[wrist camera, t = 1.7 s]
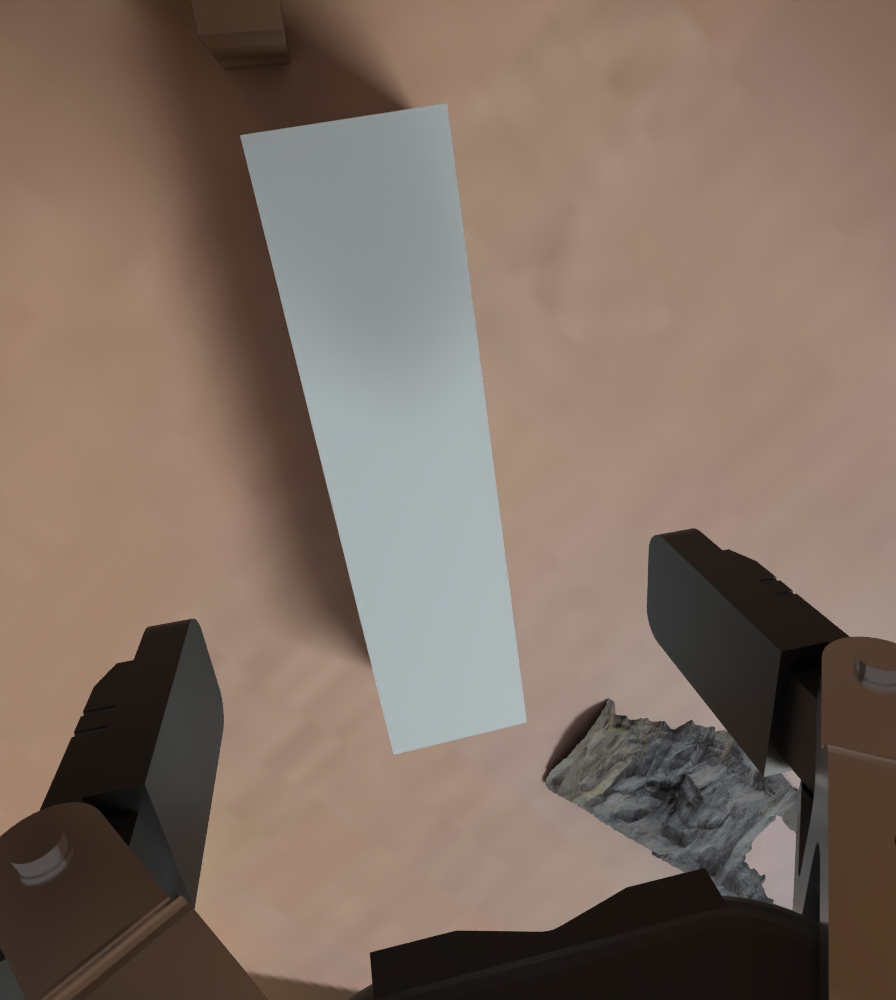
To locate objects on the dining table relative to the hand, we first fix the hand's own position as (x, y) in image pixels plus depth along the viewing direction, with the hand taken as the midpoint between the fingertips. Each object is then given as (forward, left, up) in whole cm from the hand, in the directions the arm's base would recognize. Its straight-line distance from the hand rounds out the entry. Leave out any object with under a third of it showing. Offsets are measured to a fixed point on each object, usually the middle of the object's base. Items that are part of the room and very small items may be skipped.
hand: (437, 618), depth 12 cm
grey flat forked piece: (-12, +20, -10) cm, 25 cm away
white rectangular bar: (0, 0, -9) cm, 9 cm away
